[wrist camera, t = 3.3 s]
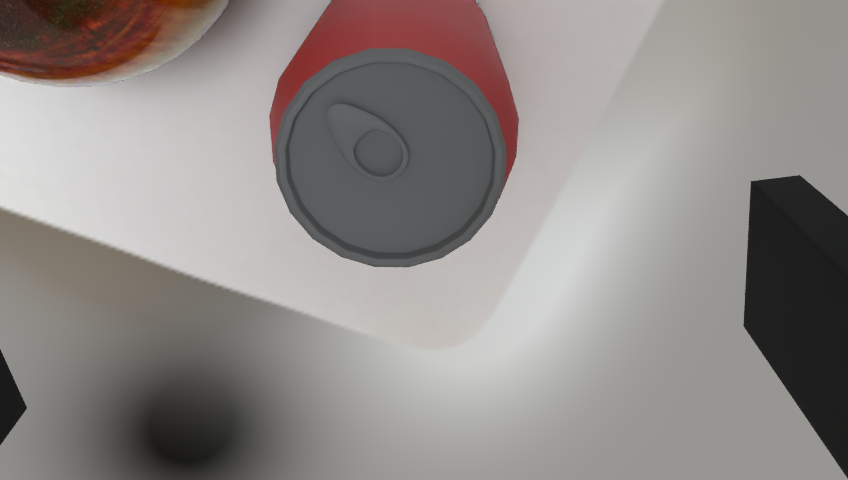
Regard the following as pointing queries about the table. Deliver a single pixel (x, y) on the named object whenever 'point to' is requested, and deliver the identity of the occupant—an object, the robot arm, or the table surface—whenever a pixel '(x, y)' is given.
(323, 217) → the beer can
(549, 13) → the table surface
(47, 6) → the vase
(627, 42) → the table surface
